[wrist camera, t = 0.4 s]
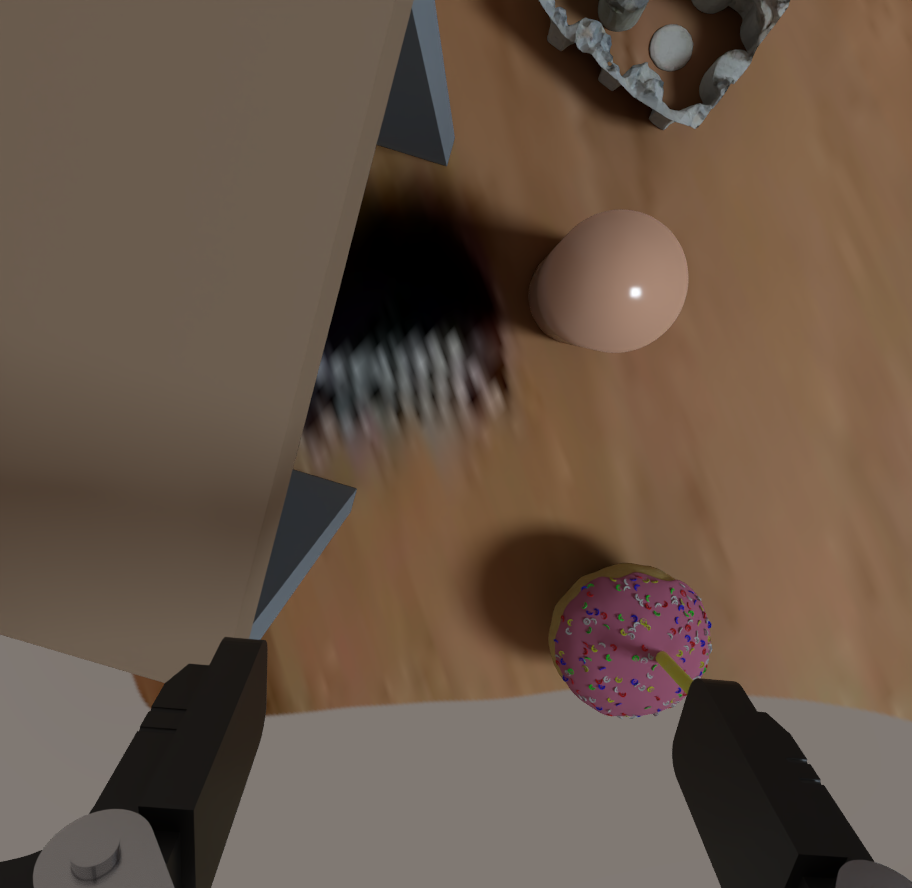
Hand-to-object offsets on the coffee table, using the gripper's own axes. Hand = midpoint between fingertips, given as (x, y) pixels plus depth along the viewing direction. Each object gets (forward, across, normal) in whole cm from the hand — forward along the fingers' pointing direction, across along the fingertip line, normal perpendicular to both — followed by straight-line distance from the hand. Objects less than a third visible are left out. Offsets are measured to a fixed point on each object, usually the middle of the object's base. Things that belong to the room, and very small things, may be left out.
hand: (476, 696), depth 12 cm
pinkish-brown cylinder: (+27, -6, -5) cm, 28 cm away
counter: (+28, +8, -2) cm, 29 cm away
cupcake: (+24, -11, +13) cm, 30 cm away
